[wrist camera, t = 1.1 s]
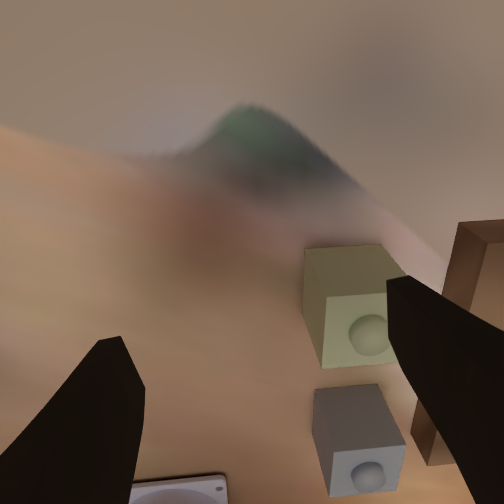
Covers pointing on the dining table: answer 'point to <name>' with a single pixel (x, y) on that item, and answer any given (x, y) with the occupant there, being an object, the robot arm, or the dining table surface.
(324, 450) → the slate block
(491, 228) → the walnut base brick
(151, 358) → the dining table surface
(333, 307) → the sage block
